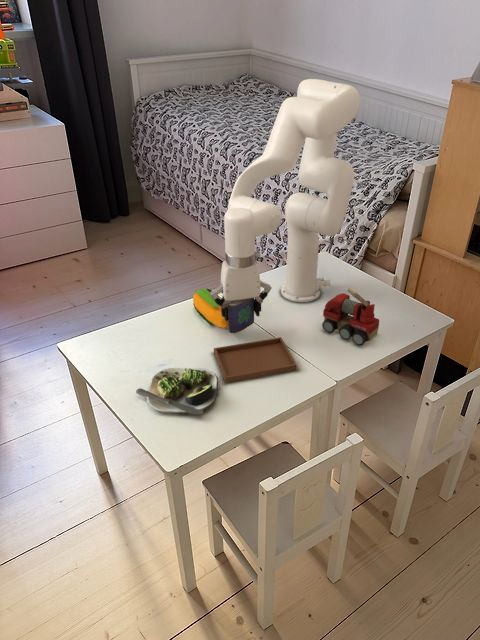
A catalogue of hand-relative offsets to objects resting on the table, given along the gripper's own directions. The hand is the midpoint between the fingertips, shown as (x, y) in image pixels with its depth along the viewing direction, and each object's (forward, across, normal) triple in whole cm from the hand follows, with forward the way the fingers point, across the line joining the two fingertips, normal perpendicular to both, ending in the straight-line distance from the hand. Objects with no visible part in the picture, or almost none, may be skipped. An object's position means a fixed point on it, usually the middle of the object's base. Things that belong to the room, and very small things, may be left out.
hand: (241, 315), depth 149 cm
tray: (+7, 0, +13) cm, 14 cm away
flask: (+4, 0, 0) cm, 4 cm away
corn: (+7, +6, -10) cm, 13 cm away
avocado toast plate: (+7, +20, +21) cm, 30 cm away
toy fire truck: (+7, -29, +8) cm, 31 cm away
